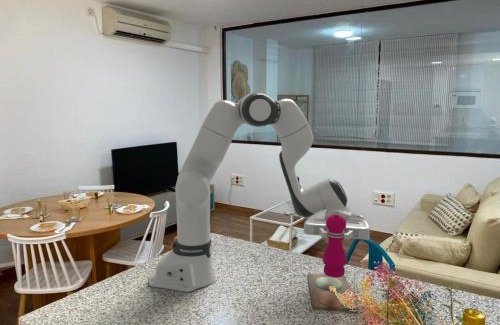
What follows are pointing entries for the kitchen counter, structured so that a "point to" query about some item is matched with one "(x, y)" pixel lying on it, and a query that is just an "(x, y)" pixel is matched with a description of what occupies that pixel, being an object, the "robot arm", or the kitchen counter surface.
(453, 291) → the kitchen counter surface
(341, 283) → the colour board
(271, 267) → the kitchen counter surface
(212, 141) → the robot arm
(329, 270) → the pepper mill
